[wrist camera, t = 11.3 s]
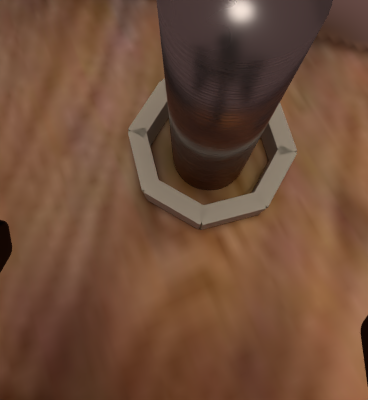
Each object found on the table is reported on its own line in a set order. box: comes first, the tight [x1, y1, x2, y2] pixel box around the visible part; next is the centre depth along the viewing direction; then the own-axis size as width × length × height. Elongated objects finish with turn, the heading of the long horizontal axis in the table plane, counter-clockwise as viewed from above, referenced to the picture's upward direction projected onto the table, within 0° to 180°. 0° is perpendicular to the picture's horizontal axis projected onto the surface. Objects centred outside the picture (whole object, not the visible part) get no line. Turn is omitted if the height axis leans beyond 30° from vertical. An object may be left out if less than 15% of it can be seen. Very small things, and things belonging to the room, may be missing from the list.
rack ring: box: [128, 79, 297, 230], centre depth 19 cm, size 9×9×2 cm
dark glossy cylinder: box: [157, 0, 333, 190], centre depth 14 cm, size 4×4×12 cm
